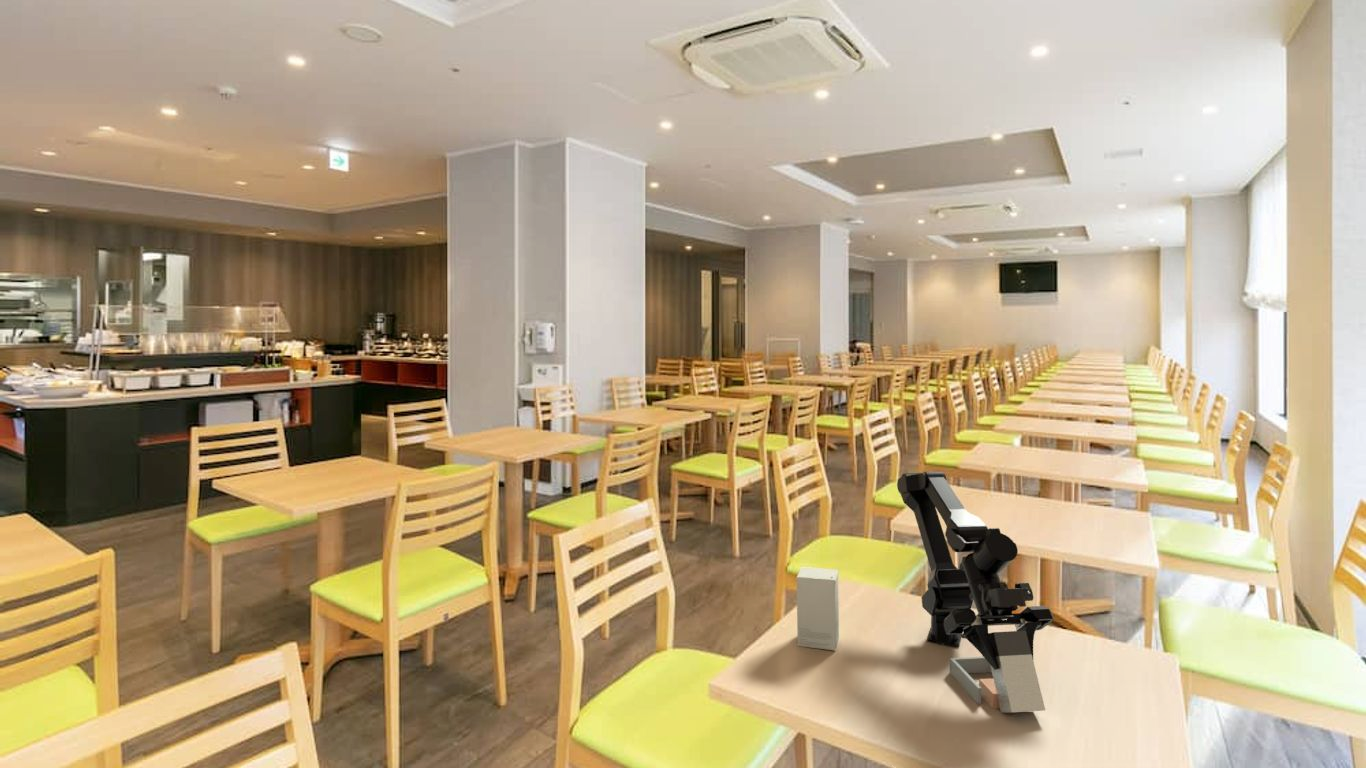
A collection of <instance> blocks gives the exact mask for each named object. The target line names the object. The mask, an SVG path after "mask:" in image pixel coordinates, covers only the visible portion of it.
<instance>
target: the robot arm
mask: <svg viewBox="0 0 1366 768" xmlns="http://www.w3.org/2000/svg"><path fill="white" fill-rule="evenodd" d="M896 486H897V490H898V493H899V494H900V496H901V498H902V501H903V503H904V505H906V506H907V508H909V509H910V510H911V511H912V512H913V513H914V516H915V520H916V523H917V527H918V530H919V534H920V537H921V540H922V543H923V548H924V551H925V554H926V558H927V561H928V564H929V568H930V575H929V578H928V580H927V590H926V591H925V593H923V595H922V596H921V604H922V606H921V607H922V608H923V609H924V610H925V611H926V612H927V613H928V614H929V615H930V617H931V618H930V628H929V631H928V634H927V637H926V641H928V642H932V643H937V644H941V645H942V644H943V645H947V646H952V647H957V648H959V647H960V645H961V641H962V639H966V640H967V641H968V642H969V643H970V644H971V645H972V646H973V647H974V648H976V650H977V651H978V652H979V653H980V654H981V655H982V656H984V658H985V659H986V660H987V661H988V662H989V664H990V665H991V666H992V667H993V668H994V669H995V670H997V669H999V666H998V662H997V658H996V655H995V653H994V650H993V647H992V645H991V642H990V639H989V636H988V633H989V627H990V626H992V627H993V626H1011V625H1014V626H1015V631H1026V633H1027V637H1028V641H1029V645H1030V650H1031V654H1032V658H1033V659H1034V638H1035V633H1036V631H1041V630H1043V629H1044V628H1045V627H1047V626H1048V625H1050V624H1051V623H1052V622H1054V621H1055V618H1054V615H1053V613H1052V611H1051V609H1050V608H1049V607H1047V606H1045V605H1037V606H1035V605H1033V606H1027V604H1026V603H1027V602H1031V601H1034V593H1033V589H1032V587H1031V585H1030V583H1029V582H1019V583H1016V582H1015V584H1014V588H1009V587H1008V585H1007V583H1006V582H1005V581H1004V582H1002V581H1001V578H1000V576H999V573H1001V572H1003V571H1004V570H1005V569H1006V568H1007V566H1009V565H1010V563H1012V562H1013V561H1014V560H1015V559H1016V557H1017V555H1018V552H1019V551H1018V546H1017V544H1016V543H1015V542H1014V540H1013V539H1011V538H1010V537H1009V536H1008V535H1006V534H1004V533H1001V530H1000V528H999V527H990V528H988V527H987V525H986V524H985V522H983V521H982V520H981V518H980V517H978V516H977V515H975V514H972V513H970V512H968V511H967V509H966V508H965V507H964V505H963V504H962V502H961V500H960V499H959V497H958V496H957V494H956V493H955V491H954V490H953V488H952V487H951V485H950V484H949V483H948V481H947V475H946V474H945V473H944V472H941V471H939V470H937V471H935V470H934V471H923V472H912V473H911V472H910V473H909V472H908V473H907V472H906V473H902V474H901V477H899V478H898V479H897V483H896ZM938 513H939V514H938ZM939 515H940V517H941V519H942V521H943V522H944V524H945V527H946V529H945V533H944V530H943V527H942V525H941V520H940V518H939ZM949 547H950V548H951V549H952V551H953V552H954V553H968V554H967V555H966V556H962V558H961V562H960V563H959V567H957V566H955V564H954V562H953V558H952V556H951V553H950V550H949ZM973 602H974V604H975V608H976V610H977V615H976V613H975V611H974V610H973V609H972V606H973ZM1018 606H1019V607H1021V608H1023V607H1026V608H1024V609H1023V610H1022V611H1021V612H1017V613H1013V612H1014V611H1016V610H1018V609H1019V608H1018Z"/></svg>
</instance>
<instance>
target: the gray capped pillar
mask: <svg viewBox="0 0 1366 768" xmlns="http://www.w3.org/2000/svg"><path fill="white" fill-rule="evenodd" d="M988 636H989V639H990V642H991V645H992V647H993V650H994V653H995V655H996V658H997V662H998V666H999V669H997V670H995V669H994V668H993V667H992V666H991V665H990V666H991V670H992V672H991V673H992V674H991V675H992V678H993V679H994V684H995V688H996V693H997V697H998V702H999V706H1000V708H999V710H1000V713H1024V712H1025V713H1026V712H1040V711H1042V712H1043V711H1046V707H1045V703H1044V700H1043V695H1042V694H1043V693H1042V690H1041V686H1040V683H1039V678H1038V675H1037V670H1036V667H1035V661H1034V657H1033V658H1032V654H1031V650H1030V645H1029V641H1028V637H1027V633H1026V631H1017V630H1013V631H995V632H990V633H989V632H988Z"/></svg>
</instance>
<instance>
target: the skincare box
mask: <svg viewBox="0 0 1366 768" xmlns="http://www.w3.org/2000/svg"><path fill="white" fill-rule="evenodd" d="M839 600H840V599H839V569H834V568H833V569H832V568H821V567H809V566H801V567H800V569H799V572H798V573H797V576H796V615H797V616H796V617H797V618H796V619H797V623H796V624H797V625H796V627H797V628H796V629H797V630H796V631H797V647H803V648H804V647H805V648H812V649H819V650H828V651H836V650H837V647H838V642H839V638H840V623H839V622H840V619H839V618H840V617H839V613H840V611H839V609H840V608H839V604H840V603H839V602H840V601H839Z"/></svg>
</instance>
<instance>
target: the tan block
mask: <svg viewBox="0 0 1366 768" xmlns="http://www.w3.org/2000/svg"><path fill="white" fill-rule="evenodd" d="M978 685H979V686H980V687H981V688H982V689H981V698H982V699H984V701H985V702H986V703H987V704H988V705H989V706H990V707H991V708H992V709H1000V706H999V702H998V697H997V693H996V688H995V684H994V679H993V677H992V678H978Z"/></svg>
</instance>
